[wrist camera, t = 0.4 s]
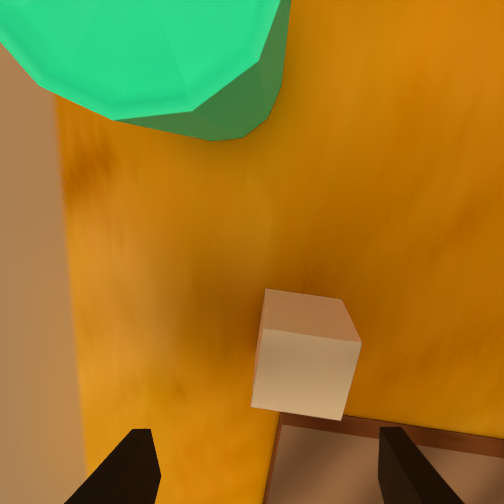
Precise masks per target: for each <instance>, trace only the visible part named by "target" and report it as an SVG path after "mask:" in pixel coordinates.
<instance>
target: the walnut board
mask: <svg viewBox="0 0 504 504" xmlns="http://www.w3.org/2000/svg"><path fill="white" fill-rule="evenodd" d="M380 427H402V428H403V429H404V430H405V431H406V433H407V434H408V435H409V437H410V438H411V439H412V441H413V442H414V443H415V444H416V446H417V447H418V448H419V450H420V451H421V452H422V453H423V455H424V456H425V457H426V458H427V459H428V461H429V462H430V463H431V464H432V466H433V467H434V468H435V469H436V470H437V472H438V473H439V474H440V475H441V476H442V478H443V479H444V480H445V481H446V482H447V484H448V485H449V486H450V487H451V488H452V489H453V490H454V492H455V493H456V494H457V495H458V496H459V497H460V498H461V500H462V501H463V502H464V503H465V504H504V440H503V439H496V438H490V437H483V436H476V435H470V434H463V433H457V432H450V431H443V430H437V429H430V428H424V427H417V426H410V425H404V424H397V423H391V422H384V421H377V420H371V419H364V418H358V417H351V416H344V415H342V419H341V421H339V420H333V419H326V418H320V417H313V416H307V415H301V414H294V413H288V412H281V413H280V418H279V423H278V428H277V433H276V438H275V443H274V448H273V453H272V458H271V464H270V469H269V474H268V479H267V484H266V489H265V494H264V499H263V504H384V501H383V497H382V493H381V489H380V485H379V481H378V454H379V430H380Z"/></svg>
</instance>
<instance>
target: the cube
mask: <svg viewBox="0 0 504 504" xmlns="http://www.w3.org/2000/svg"><path fill="white" fill-rule="evenodd" d="M361 346H362V341H361V339H360V337H359V335H358V333H357V331H356V328H355V326H354V324H353V322H352V320H351V318H350V316H349V314H348V311H347V309H346V307H345V305H344V303H343V301H342V299H336V298H329V297H322V296H315V295H308V294H301V293H294V292H287V291H280V290H273V289H267V288H266V290H265V296H264V303H263V309H262V316H261V322H260V328H259V335H258V341H257V348H256V355H255V367H254V378H253V389H252V400H251V407H255V408H262V409H268V410H275V411H281V412H288V413H294V414H301V415H307V416H313V417H320V418H326V419H333V420H339V421H341V419H342V415H343V411H344V408H345V404H346V400H347V397H348V393H349V390H350V386H351V382H352V379H353V375H354V371H355V368H356V364H357V361H358V357H359V353H360V350H361Z"/></svg>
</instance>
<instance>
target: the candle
mask: <svg viewBox="0 0 504 504" xmlns="http://www.w3.org/2000/svg"><path fill="white" fill-rule="evenodd" d="M290 6H291V0H0V42H1V43H2V44H3V45H4V47H5V48H6V49H7V50H8V51H9V52H10V53H11V54H12V56H13V57H14V58H15V59H16V60H17V61H18V62H19V64H20V65H21V66H22V67H23V68H24V69H25V70H26V72H27V73H28V74H29V75H30V76H31V77H32V78H33V80H34V81H35V82H36V83H37V84H38V85H39V86H41V87H43V88H45V89H47V90H49V91H51V92H53V93H56V94H58V95H60V96H62V97H64V98H66V99H68V100H71V101H73V102H75V103H77V104H79V105H81V106H83V107H86V108H88V109H90V110H92V111H94V112H96V113H98V114H101V115H103V116H105V117H107V118H109V119H111V120H114V121H119V122H124V123H128V124H133V125H138V126H143V127H147V128H152V129H157V130H162V131H167V132H171V133H176V134H181V135H186V136H190V137H195V138H200V139H205V140H209V141H219V140H228V139H236V138H243V137H244V136H246V135H247V134H248V133H249V132H251V131H252V130H253V129H254V128H256V127H257V126H258V125H260V124H261V123H262V122H263V121H265V120H266V119H267V118H268V116H269V114H270V111H271V109H272V107H273V104H274V102H275V100H276V97H277V95H278V93H279V90H280V88H281V83H282V74H283V66H284V57H285V49H286V40H287V31H288V23H289V14H290Z"/></svg>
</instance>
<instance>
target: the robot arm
mask: <svg viewBox="0 0 504 504" xmlns="http://www.w3.org/2000/svg"><path fill="white" fill-rule="evenodd" d="M160 479H161V472H160V468H159V464H158V459H157V455H156V451H155V446H154V442H153V438H152V433H151V429H132V430H131V431H130V432H129V433H128V434H127V435H126V437H125V438H124V439H123V440H122V441H121V442H120V443H119V444H118V445H117V446H116V448H115V449H114V450H113V451H112V452H111V453H110V454H109V455H108V457H107V458H106V459H105V460H104V461H103V462H102V463H101V464H100V465H99V467H98V468H97V469H96V470H95V471H94V472H93V473H92V474H91V475H90V476H89V478H88V479H87V480H86V481H85V482H84V483H83V484H82V485H81V486H80V487H79V488H78V490H76V492H75V493H74V494H73V495H72V496H71V497H70V498H69V499H68V500H67V501H66V502H65V503H64V504H154V503H155V500H156V496H157V492H158V487H159V483H160ZM378 481H379V485H380V489H381V493H382V497H383V501H384V504H465V503H464V502H463V501H462V500H461V498H460V497H459V496H458V495H457V494H456V493H455V492H454V490H453V489H452V488H451V487H450V486H449V485H448V484H447V482H446V481H445V480H444V479H443V478H442V476H441V475H440V474H439V473H438V472H437V470H436V469H435V468H434V467H433V466H432V464H431V463H430V462H429V461H428V459H427V458H426V457H425V456H424V455H423V453H422V452H421V451H420V450H419V448H418V447H417V446H416V444H415V443H414V442H413V441H412V439H411V438H410V437H409V435H408V434H407V433H406V431H405V430H404V429H403V428H402V427H380V430H379V454H378Z"/></svg>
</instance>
